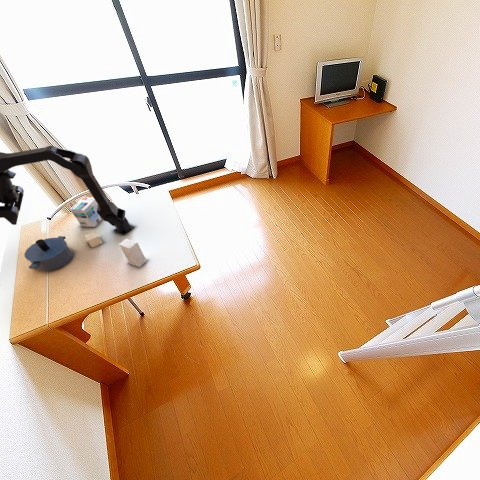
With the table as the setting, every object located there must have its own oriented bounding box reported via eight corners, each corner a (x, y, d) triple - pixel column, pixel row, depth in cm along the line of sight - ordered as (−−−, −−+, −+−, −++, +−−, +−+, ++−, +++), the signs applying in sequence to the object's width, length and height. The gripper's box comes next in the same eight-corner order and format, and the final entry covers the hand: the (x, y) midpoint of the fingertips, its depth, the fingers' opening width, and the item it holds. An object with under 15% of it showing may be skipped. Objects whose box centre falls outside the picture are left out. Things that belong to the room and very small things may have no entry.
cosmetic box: (147, 260, 126) (137, 242, 118) (140, 267, 123) (129, 248, 115) (136, 256, 127) (126, 238, 119) (128, 263, 124) (117, 244, 116)
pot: (83, 245, 128) (75, 236, 124) (56, 276, 115) (47, 267, 111) (53, 244, 128) (45, 234, 123) (23, 275, 114) (13, 265, 110)
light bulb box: (94, 227, 137) (84, 210, 130) (80, 226, 137) (69, 209, 130) (107, 214, 145) (97, 197, 138) (93, 213, 145) (83, 196, 137)
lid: (74, 240, 123) (68, 231, 119) (53, 263, 113) (45, 254, 109) (41, 238, 122) (33, 229, 118) (17, 261, 112) (7, 252, 108)
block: (99, 238, 133) (94, 231, 130) (102, 243, 131) (98, 236, 128) (88, 242, 130) (83, 235, 127) (92, 247, 128) (87, 240, 125)
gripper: (-24, 172, 108) (-8, 205, 117) (-37, 200, 97) (-18, 233, 107) (17, 173, 114) (29, 204, 124) (9, 199, 104) (23, 231, 113)
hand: (16, 217), depth 117 cm, fingers open, 9 cm apart
